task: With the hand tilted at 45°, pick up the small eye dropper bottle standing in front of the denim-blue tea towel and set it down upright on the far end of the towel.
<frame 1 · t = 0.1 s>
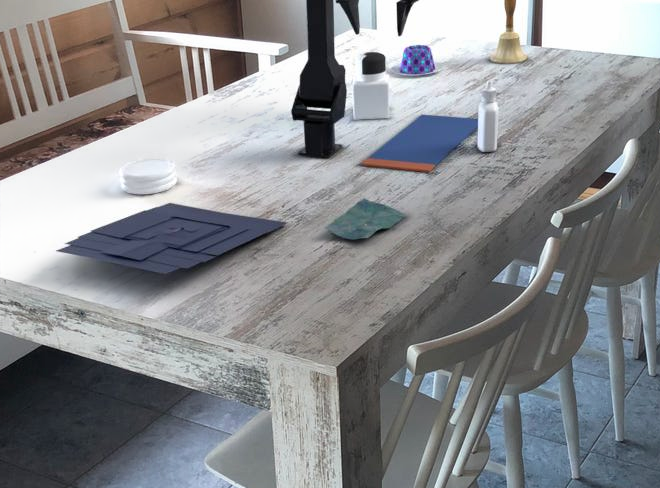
hand: (378, 35, 208), 15 cm above the table, tool pointing down, fingers open, 9 cm apart
eye dropper bottle: (487, 148, 190), on the table
white round disc stack: (149, 186, 187), on the table
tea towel: (425, 142, 195), on the table
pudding: (417, 72, 238), on the table
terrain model: (366, 228, 163), on the table
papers: (174, 250, 161), on the table
hand bell: (508, 60, 241), on the table
medicine bottle: (371, 115, 213), on the table
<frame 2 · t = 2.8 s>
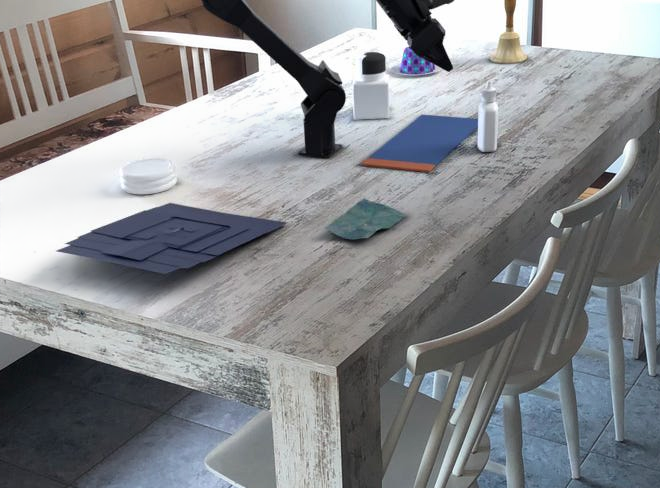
hand: (445, 63, 188), 14 cm above the table, tool tilted 35°, fingers open, 9 cm apart
nothing on the table moved.
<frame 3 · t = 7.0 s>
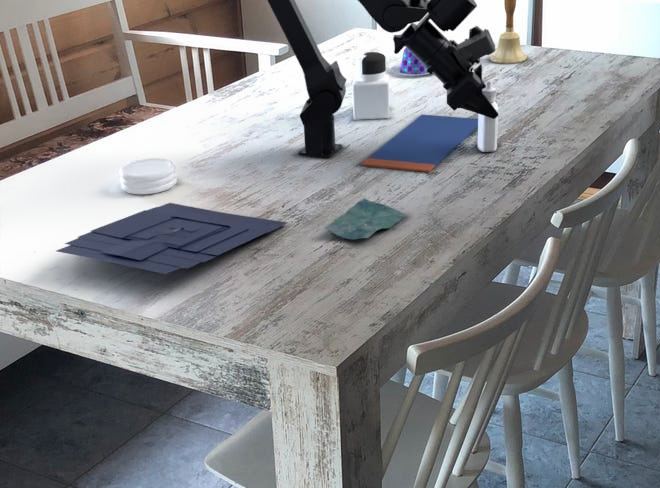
hand: (496, 111, 186), 7 cm above the table, tool tilted 45°, fingers closed on eye dropper bottle, 5 cm apart
eye dropper bottle: (487, 148, 190), on the table, touching gripper
everything else where it was.
when the fingers open (7 cm above the table, at t = 13.7 s): eye dropper bottle stays where it is, resting on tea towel.
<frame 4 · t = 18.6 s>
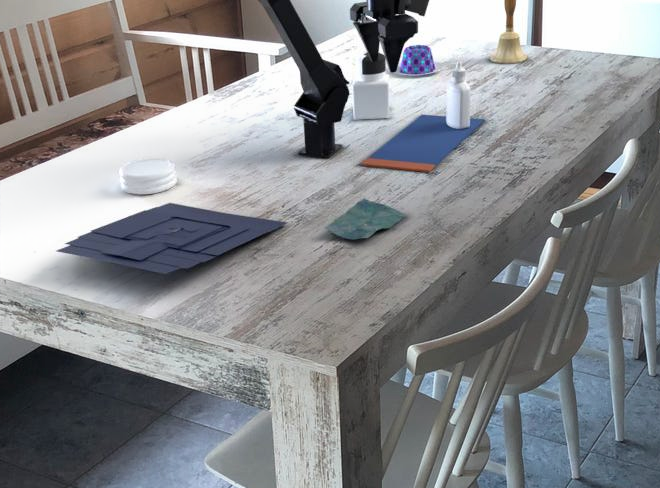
hand: (383, 66, 193), 13 cm above the table, tool pointing down, fingers open, 9 cm apart
eye dropper bottle: (457, 126, 201), resting on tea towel
everything else where it was.
at the end: eye dropper bottle inside the target area on the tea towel (3.3 cm from its centre), point 0.2 cm above the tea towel's base; eye dropper bottle tilted 0°; eye dropper bottle touching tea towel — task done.
